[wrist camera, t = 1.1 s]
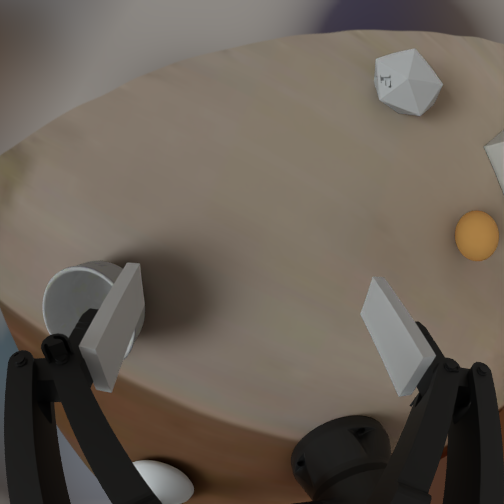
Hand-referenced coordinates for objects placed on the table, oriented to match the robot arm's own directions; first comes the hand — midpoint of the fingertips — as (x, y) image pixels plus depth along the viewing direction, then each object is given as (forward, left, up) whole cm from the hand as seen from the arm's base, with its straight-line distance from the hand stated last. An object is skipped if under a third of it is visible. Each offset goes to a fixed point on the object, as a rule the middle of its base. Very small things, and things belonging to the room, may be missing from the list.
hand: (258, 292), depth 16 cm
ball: (-14, -26, -17) cm, 34 cm away
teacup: (+4, +18, -17) cm, 25 cm away
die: (+7, -27, -17) cm, 33 cm away
